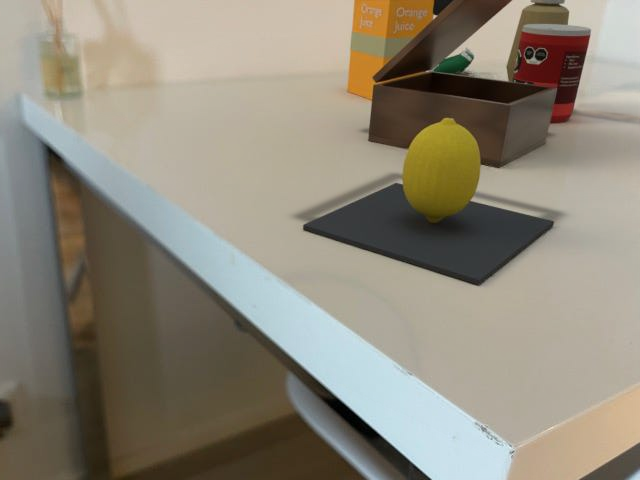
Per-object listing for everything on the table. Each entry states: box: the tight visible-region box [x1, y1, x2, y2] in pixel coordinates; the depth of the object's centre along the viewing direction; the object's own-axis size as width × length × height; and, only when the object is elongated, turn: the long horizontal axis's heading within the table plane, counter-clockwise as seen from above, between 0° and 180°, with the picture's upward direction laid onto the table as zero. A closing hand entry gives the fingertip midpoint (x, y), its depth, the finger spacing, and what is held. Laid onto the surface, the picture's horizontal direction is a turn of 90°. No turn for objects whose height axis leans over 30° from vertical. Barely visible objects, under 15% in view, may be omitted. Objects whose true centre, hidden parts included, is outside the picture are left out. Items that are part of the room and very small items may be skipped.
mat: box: [302, 182, 555, 286], centre depth 51 cm, size 14×14×1 cm
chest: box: [367, 70, 557, 169], centre depth 73 cm, size 15×13×6 cm
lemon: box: [402, 118, 481, 223], centre depth 49 cm, size 6×6×8 cm
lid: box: [372, 0, 513, 83], centre depth 70 cm, size 16×13×1 cm
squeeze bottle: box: [506, 0, 570, 82], centre depth 98 cm, size 8×8×18 cm
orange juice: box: [346, 0, 435, 101], centre depth 94 cm, size 8×9×20 cm
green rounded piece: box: [432, 46, 475, 75], centre depth 115 cm, size 9×4×6 cm
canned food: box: [512, 24, 592, 123], centre depth 85 cm, size 8×8×11 cm
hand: (449, 15), depth 70 cm, fingers closed
